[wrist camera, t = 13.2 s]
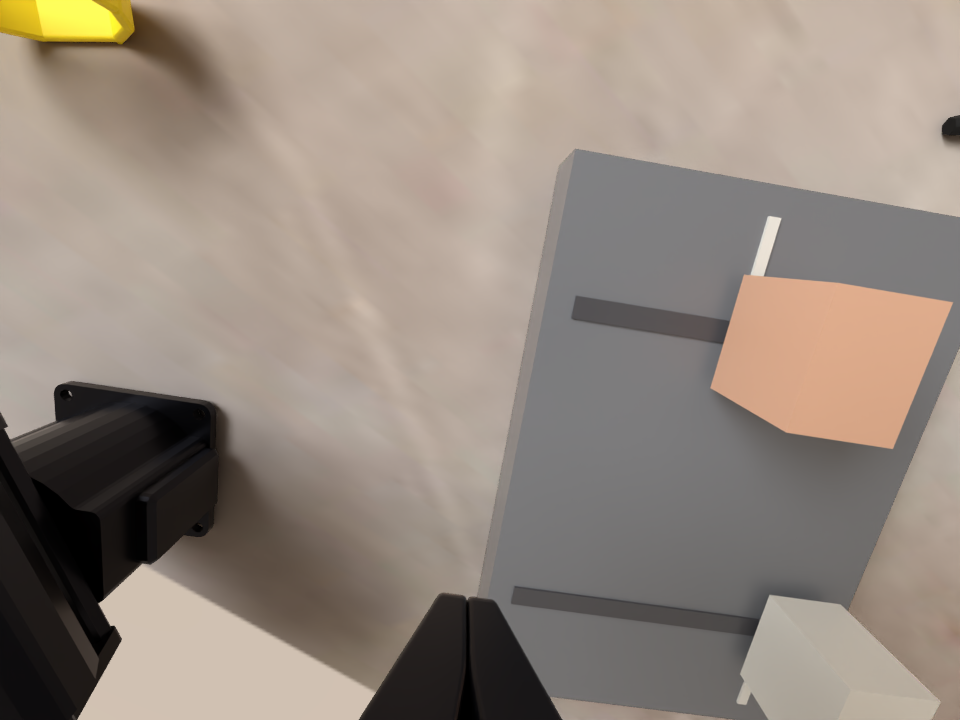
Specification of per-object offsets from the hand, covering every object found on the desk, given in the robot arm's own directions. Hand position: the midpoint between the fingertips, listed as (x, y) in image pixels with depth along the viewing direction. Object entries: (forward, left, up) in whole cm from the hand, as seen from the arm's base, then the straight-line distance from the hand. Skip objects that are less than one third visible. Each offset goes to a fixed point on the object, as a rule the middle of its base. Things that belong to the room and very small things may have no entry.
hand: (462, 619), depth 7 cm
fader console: (+9, -2, -13) cm, 16 cm away
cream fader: (+15, -8, -9) cm, 19 cm away
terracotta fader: (+10, +4, -10) cm, 14 cm away
